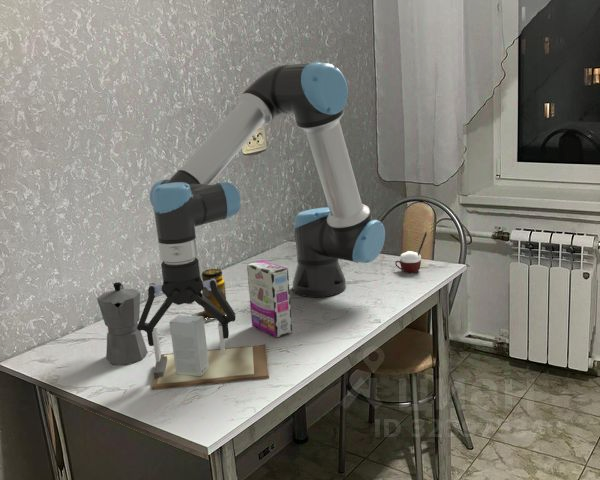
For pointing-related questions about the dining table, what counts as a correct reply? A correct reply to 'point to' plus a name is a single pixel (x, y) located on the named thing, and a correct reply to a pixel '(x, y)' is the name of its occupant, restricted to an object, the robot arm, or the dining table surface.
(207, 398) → the dining table surface
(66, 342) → the dining table surface
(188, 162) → the robot arm
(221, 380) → the clipboard
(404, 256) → the cocoa
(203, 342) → the skincare box
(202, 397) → the dining table surface
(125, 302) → the coffeepot
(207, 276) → the condiment
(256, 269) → the candy bar box
